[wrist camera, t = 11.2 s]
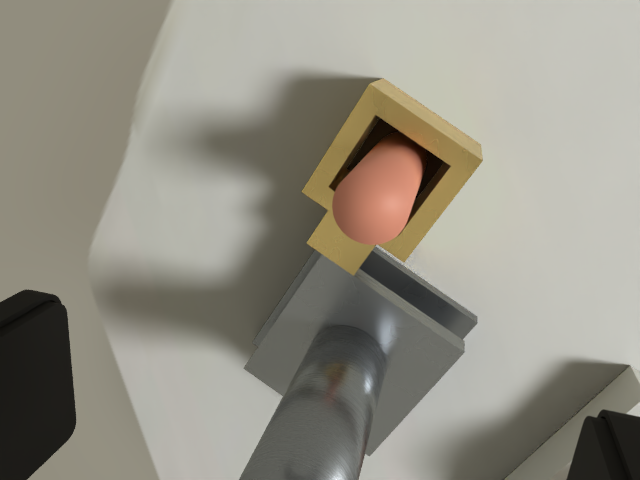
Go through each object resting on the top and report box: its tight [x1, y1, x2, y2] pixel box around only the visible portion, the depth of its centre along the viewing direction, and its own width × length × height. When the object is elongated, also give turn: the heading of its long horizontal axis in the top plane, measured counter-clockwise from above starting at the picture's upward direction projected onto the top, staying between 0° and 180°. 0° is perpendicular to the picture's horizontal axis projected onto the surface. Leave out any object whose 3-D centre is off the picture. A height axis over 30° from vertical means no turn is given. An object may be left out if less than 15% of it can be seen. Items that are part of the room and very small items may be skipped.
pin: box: [332, 132, 427, 245], centre depth 26 cm, size 3×3×10 cm
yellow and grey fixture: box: [239, 78, 483, 480], centre depth 26 cm, size 12×18×15 cm
